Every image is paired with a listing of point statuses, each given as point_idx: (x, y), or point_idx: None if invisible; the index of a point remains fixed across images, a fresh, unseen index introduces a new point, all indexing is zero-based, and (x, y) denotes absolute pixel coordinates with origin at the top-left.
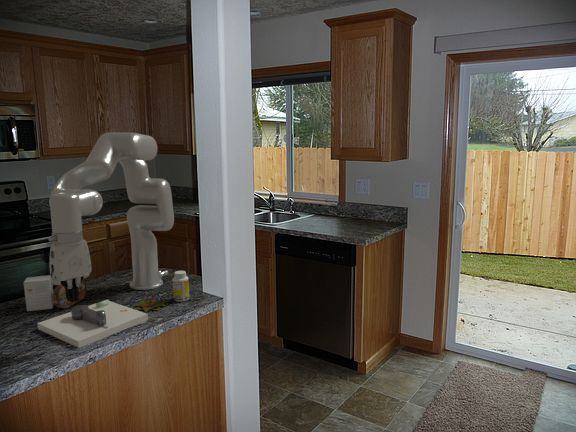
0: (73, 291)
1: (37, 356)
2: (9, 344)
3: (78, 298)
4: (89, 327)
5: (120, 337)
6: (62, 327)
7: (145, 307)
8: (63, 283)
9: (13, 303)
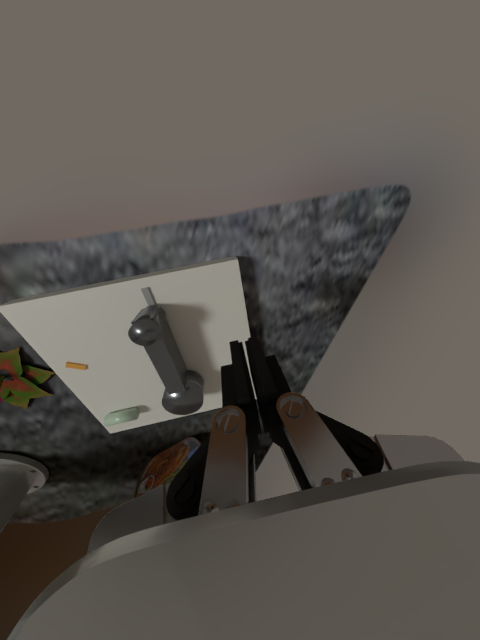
0: (264, 375)
1: (312, 280)
2: (314, 359)
3: (160, 458)
4: (186, 322)
5: (122, 238)
6: None
7: (15, 371)
8: (365, 441)
9: None
